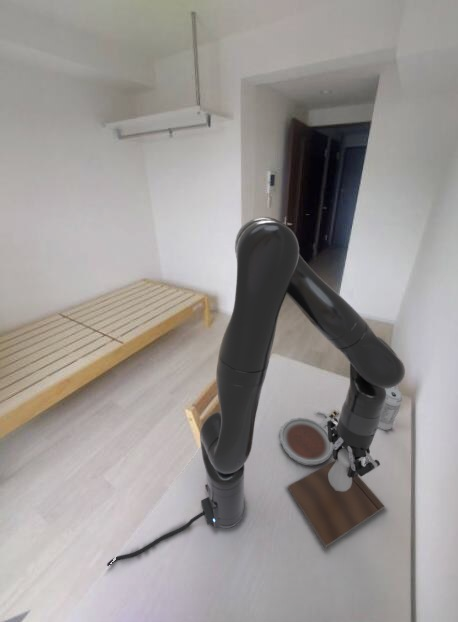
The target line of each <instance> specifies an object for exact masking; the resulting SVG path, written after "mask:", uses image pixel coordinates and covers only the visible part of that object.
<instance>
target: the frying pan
mask: <svg viewBox="0 0 458 622" xmlns="http://www.w3.org/2000/svg"><path fill="white" fill-rule="evenodd" d="M339 412H340V411H339V410H338V409H334V410H333V412H332V413H331V414H329V415H328V414H326V413H324V412H321V411H317V414H318V415H322V416H324V417H325V418H324V419H323V420H322V421H321V422H318V421H316V420H313V419H311V418H308V417H295V418H291V419H290V420H288V421H286V422H285V423H284V424H283V425H282V426H281V429H280V432H279V439H280V443H281V445H282V448H283V450H284V451H285V453H286V454H287V455H288V456H289V457H290V458H291V459H292V460H294V461H295V462H297V463H299V464H302V465H305V466H318V465H321V464H323V463H324V462H326V461H327V460H329V459H330V457H331V455H332V452H333V443H332V442H330V441H329V440H328V429H326V426H327V422H328V421H330V420H332V419H333V418H334V417H335V416H336V415H338V414H340V413H339Z"/></svg>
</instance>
